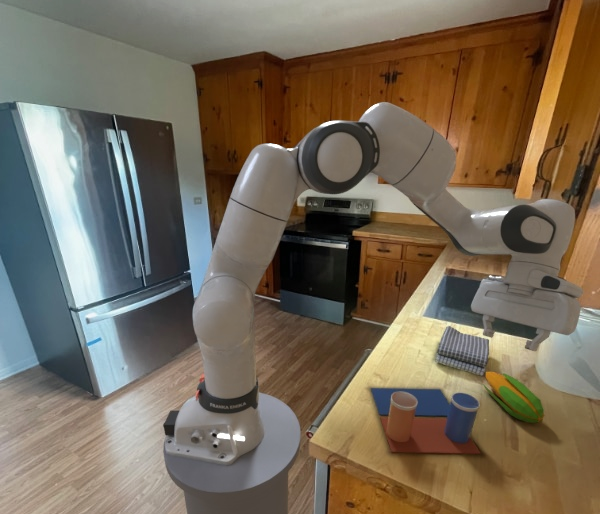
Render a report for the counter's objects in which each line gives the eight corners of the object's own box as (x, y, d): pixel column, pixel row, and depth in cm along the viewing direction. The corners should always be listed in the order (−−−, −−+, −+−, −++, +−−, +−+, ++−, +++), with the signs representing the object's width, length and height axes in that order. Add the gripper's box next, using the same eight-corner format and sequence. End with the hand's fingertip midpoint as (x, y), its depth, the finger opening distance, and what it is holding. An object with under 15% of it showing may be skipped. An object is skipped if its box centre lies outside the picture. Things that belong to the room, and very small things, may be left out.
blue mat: (379, 415, 84) (379, 414, 84) (370, 388, 95) (370, 388, 94) (456, 416, 85) (456, 415, 84) (439, 390, 95) (440, 389, 95)
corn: (531, 405, 77) (478, 360, 96) (520, 431, 80) (470, 382, 98) (558, 405, 78) (500, 360, 97) (546, 430, 81) (492, 382, 100)
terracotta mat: (391, 452, 73) (391, 451, 73) (380, 418, 83) (380, 417, 83) (480, 454, 73) (480, 453, 73) (458, 419, 84) (458, 418, 84)
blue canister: (449, 443, 76) (458, 408, 72) (439, 425, 81) (447, 392, 77) (474, 444, 76) (484, 409, 72) (463, 425, 81) (472, 392, 77)
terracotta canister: (389, 442, 76) (394, 407, 72) (383, 424, 81) (388, 391, 77) (414, 443, 76) (421, 408, 72) (406, 424, 81) (412, 391, 77)
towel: (432, 365, 107) (437, 344, 104) (440, 341, 122) (444, 322, 119) (485, 379, 100) (491, 357, 97) (486, 352, 115) (491, 332, 112)
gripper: (475, 271, 77) (457, 327, 78) (576, 283, 58) (550, 357, 60) (492, 277, 79) (474, 331, 81) (594, 291, 61) (568, 361, 63)
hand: (507, 342), depth 70 cm, fingers open, 8 cm apart
